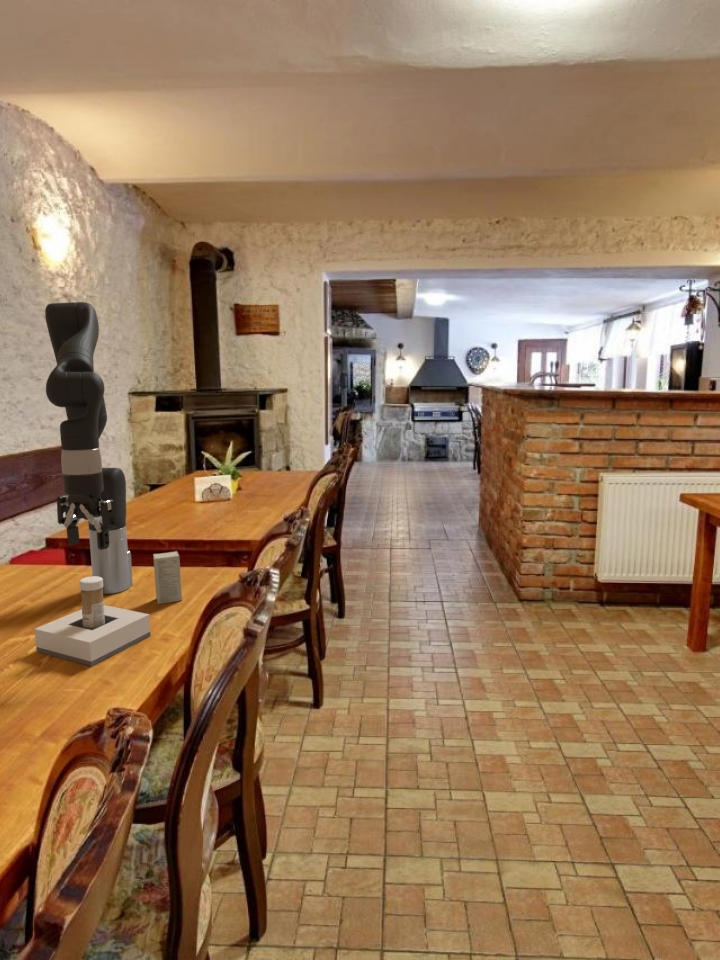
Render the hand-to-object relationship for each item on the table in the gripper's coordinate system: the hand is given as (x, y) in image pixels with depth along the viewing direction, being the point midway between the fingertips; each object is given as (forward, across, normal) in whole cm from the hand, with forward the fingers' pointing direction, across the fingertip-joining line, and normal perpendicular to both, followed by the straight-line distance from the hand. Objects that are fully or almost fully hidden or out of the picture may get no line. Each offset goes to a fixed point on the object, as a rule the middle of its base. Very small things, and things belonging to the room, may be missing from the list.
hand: (88, 546), depth 127 cm
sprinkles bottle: (+21, 0, 0) cm, 21 cm away
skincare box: (+22, +4, -27) cm, 35 cm away
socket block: (+22, 0, 0) cm, 22 cm away
